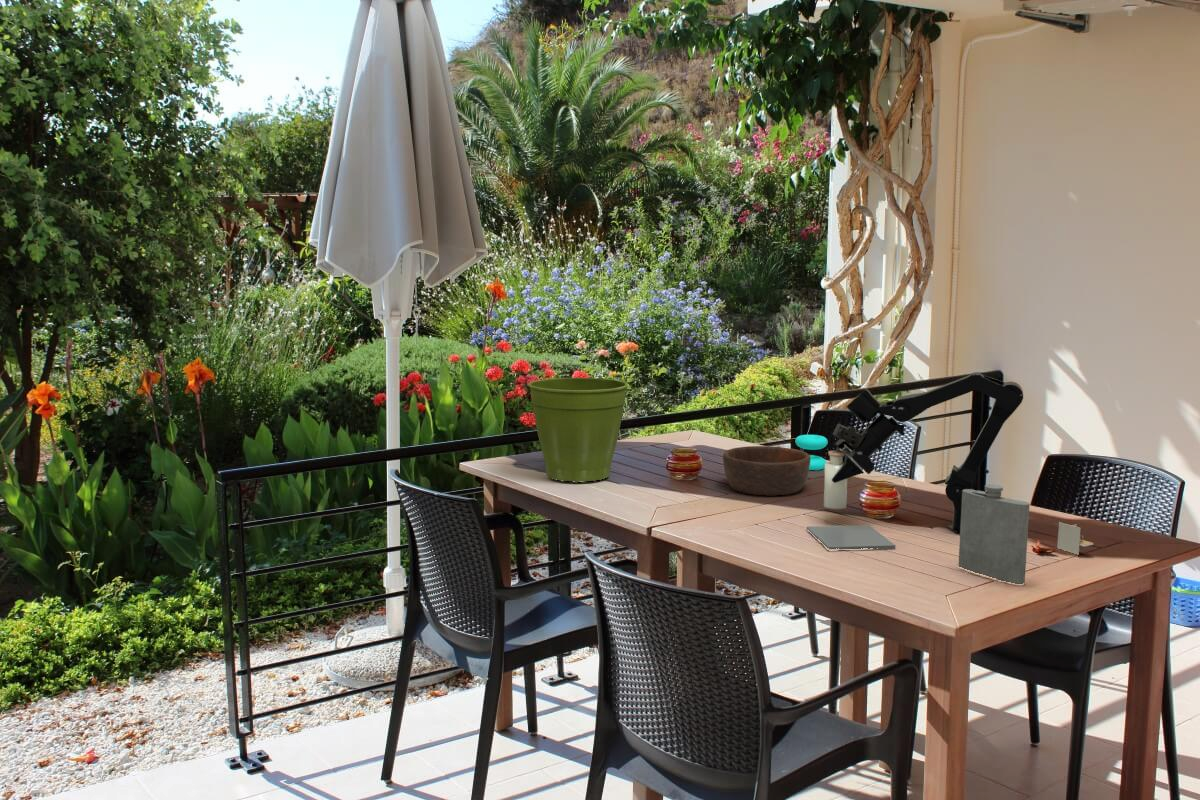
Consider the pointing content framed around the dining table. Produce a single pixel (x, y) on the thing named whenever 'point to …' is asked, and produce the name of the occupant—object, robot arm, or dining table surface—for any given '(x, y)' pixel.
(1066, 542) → the pale grey angular piece
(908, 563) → the dining table surface
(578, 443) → the plant pot
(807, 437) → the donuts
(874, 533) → the charcoal tile board
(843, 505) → the corked frosted bottle
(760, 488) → the wooden bowl
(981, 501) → the hip flask
